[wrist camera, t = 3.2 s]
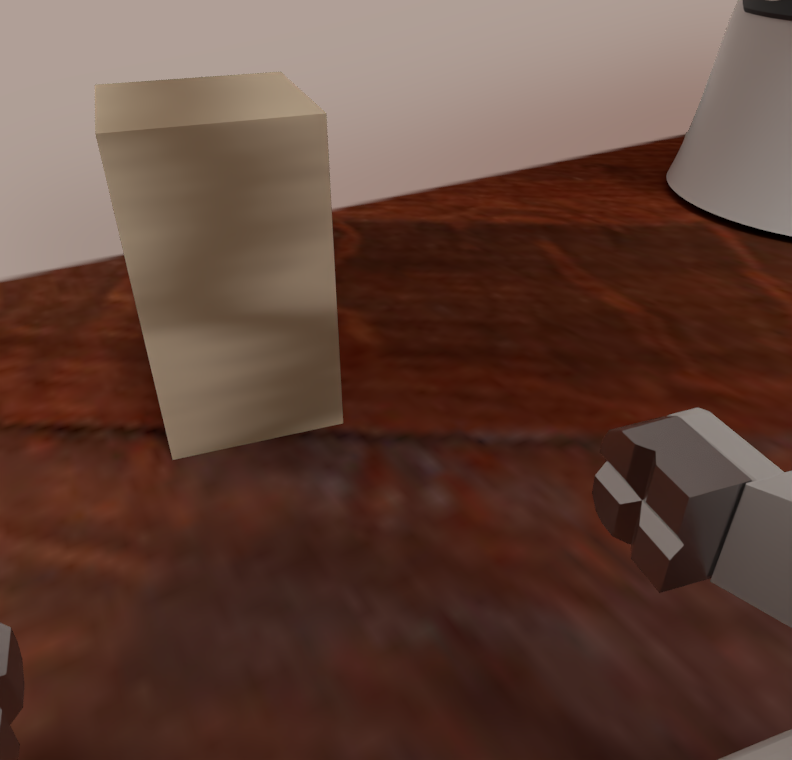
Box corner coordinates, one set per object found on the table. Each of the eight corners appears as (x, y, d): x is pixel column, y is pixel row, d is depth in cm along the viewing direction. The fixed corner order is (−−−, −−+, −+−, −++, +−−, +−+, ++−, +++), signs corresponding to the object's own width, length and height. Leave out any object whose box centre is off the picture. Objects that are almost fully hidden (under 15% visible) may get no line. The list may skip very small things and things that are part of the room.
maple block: (304, 342, 25) (280, 71, 20) (343, 423, 21) (326, 113, 16) (159, 368, 24) (95, 84, 19) (172, 460, 20) (95, 133, 15)
